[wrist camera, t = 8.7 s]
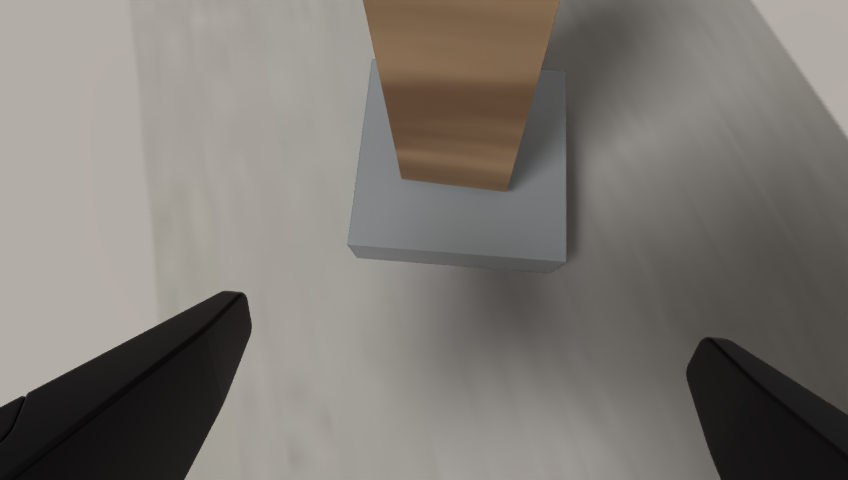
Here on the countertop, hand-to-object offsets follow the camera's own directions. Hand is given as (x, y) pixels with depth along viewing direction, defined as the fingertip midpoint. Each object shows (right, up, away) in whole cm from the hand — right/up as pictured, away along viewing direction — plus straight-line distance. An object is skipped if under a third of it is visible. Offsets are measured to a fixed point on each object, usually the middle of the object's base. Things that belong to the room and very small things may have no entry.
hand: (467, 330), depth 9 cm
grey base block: (+1, +5, +13) cm, 14 cm away
